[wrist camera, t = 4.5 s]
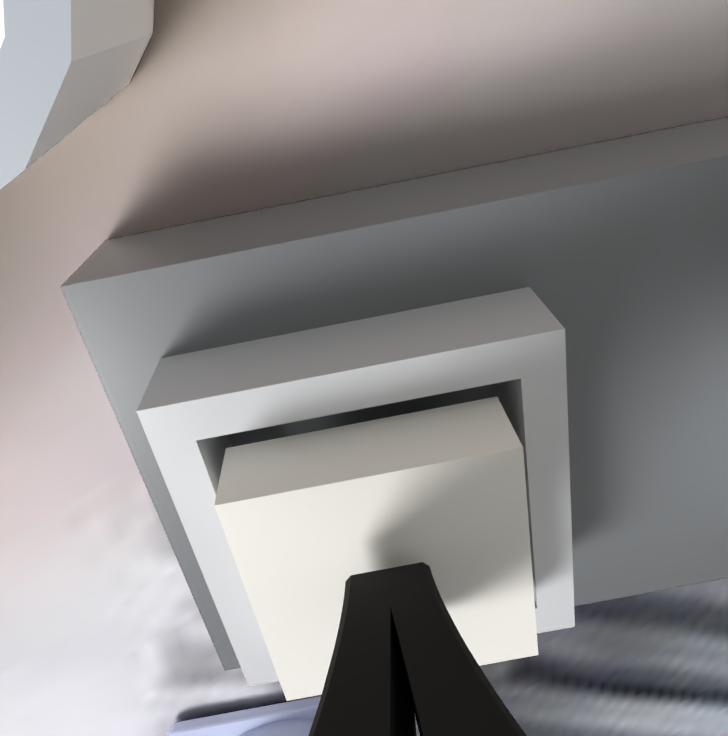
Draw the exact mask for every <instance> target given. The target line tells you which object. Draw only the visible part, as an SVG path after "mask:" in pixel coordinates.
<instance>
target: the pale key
mask: <svg viewBox="0 0 728 736" xmlns="http://www.w3.org/2000/svg"><path fill="white" fill-rule="evenodd" d="M214 507H215V509H216V512H217V515H218V517H219V520H220V523H221V525H222V528H223V531H224V534H225V536H226V539H227V542H228V544H229V547H230V550H231V552H232V555H233V558H234V560H235V563H236V566H237V569H238V571H239V574H240V577H241V579H242V582H243V585H244V587H245V590H246V593H247V595H248V598H249V601H250V604H251V606H252V609H253V612H254V614H255V617H256V620H257V622H258V625H259V628H260V630H261V633H262V636H263V639H264V641H265V644H266V647H267V649H268V652H269V655H270V657H271V660H272V663H273V665H274V668H275V671H276V674H277V676H278V679H279V682H280V684H281V687H282V690H283V692H284V695H285V698H286V700H287V701H289V700H295V699H300V698H306V697H311V696H317V695H322V692H323V688H324V684H325V680H326V677H327V673H328V669H329V666H330V662H331V658H332V655H333V651H334V646H335V642H336V637H337V633H338V629H339V624H340V618H341V613H342V607H343V600H344V592H345V581H346V580H347V579H348V578H349V577H350V576H351V575H355V574H361V573H366V572H372V571H377V570H382V569H388V568H393V567H398V566H404V565H409V564H415V563H420V562H423V563H425V564H427V565H429V566H430V569H431V573H432V576H433V578H434V581H435V584H436V586H437V589H438V591H439V593H440V596H441V598H442V600H443V602H444V604H445V606H446V608H447V610H448V612H449V614H450V616H451V618H452V620H453V622H454V624H455V626H456V628H457V629H458V631H459V633H460V635H461V637H462V638H463V640H464V642H465V644H466V645H467V647H468V648H469V650H470V652H471V653H472V655H473V657H474V658H475V660H476V662H477V663H478V665H479V666H481V665H486V664H492V663H497V662H503V661H508V660H514V659H519V658H525V657H530V656H535V655H538V642H537V628H536V615H535V601H534V588H533V574H532V561H531V548H530V534H529V521H528V507H527V494H526V480H525V467H524V454H523V446H522V444H521V442H520V440H519V438H518V436H517V434H516V432H515V430H514V428H513V426H512V424H511V422H510V421H509V419H508V417H507V415H506V413H505V411H504V409H503V407H502V405H501V403H500V401H499V399H498V397H492V398H486V399H481V400H476V401H471V402H465V403H460V404H455V405H450V406H444V407H439V408H434V409H429V410H423V411H418V412H413V413H408V414H402V415H397V416H392V417H387V418H382V419H376V420H371V421H366V422H361V423H355V424H350V425H345V426H340V427H334V428H329V429H324V430H319V431H313V432H308V433H303V434H298V435H292V436H287V437H282V438H277V439H271V440H266V441H261V442H256V443H250V444H245V445H240V446H235V447H230V448H226V450H225V455H224V460H223V465H222V470H221V474H220V479H219V484H218V489H217V494H216V499H215V504H214Z"/></svg>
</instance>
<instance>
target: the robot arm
mask: <svg viewBox="0 0 728 736" xmlns="http://www.w3.org/2000/svg"><path fill="white" fill-rule="evenodd" d="M415 716H416V720H417V725H418V729H419V733H420V736H526V734H525V733H524V732H523V730H522V729H521V727H520V726H519V725H518V723H517V722H516V720H515V719H514V718H513V716H512V715H511V713H510V712H509V710H508V709H507V708H506V706H505V705H504V703H503V702H502V700H501V699H500V698H499V696H498V695H497V693H496V692H495V690H494V688H493V687H492V685H491V684H490V682H489V681H488V679H487V678H486V676H485V675H484V673H483V671H482V670H481V668H480V666H479V665H478V663H477V662H476V660H475V658H474V657H473V655H472V653H471V652H470V650H469V648H468V647H467V645H466V644H465V642H464V640H463V638H462V637H461V635H460V633H459V631H458V629H457V628H456V626H455V624H454V622H453V620H452V618H451V616H450V614H449V612H448V610H447V608H446V606H445V604H444V602H443V600H442V598H441V596H440V593H439V591H438V589H437V586H436V584H435V581H434V578H433V576H432V573H431V569H430V566H429V565H427V564H425V563H423V562H420V563H415V564H409V565H404V566H398V567H393V568H388V569H382V570H377V571H372V572H366V573H361V574H355V575H351V576H350V577H349V578H348V579H347V580H346V581H345V592H344V600H343V607H342V613H341V618H340V624H339V629H338V633H337V637H336V642H335V646H334V651H333V655H332V658H331V662H330V666H329V669H328V673H327V677H326V680H325V684H324V688H323V692H322V695H321V696H317V697H312V698H306V699H301V700H295V701H290V702H284V703H279V704H273V705H268V706H262V707H257V708H251V709H246V710H240V711H235V712H230V713H224V714H219V715H213V716H208V717H202V718H197V719H191V720H186V721H180V722H177V723H174V724H173V725H172V726H170V728H169V731H168V736H416V726H415Z"/></svg>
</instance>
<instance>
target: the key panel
mask: <svg viewBox="0 0 728 736" xmlns="http://www.w3.org/2000/svg"><path fill="white" fill-rule="evenodd" d="M61 289H62V292H63V294H64V296H65V299H66V301H67V303H68V306H69V308H70V310H71V313H72V315H73V317H74V320H75V322H76V324H77V327H78V329H79V331H80V334H81V336H82V338H83V341H84V343H85V345H86V348H87V350H88V352H89V355H90V357H91V359H92V362H93V364H94V366H95V369H96V371H97V373H98V376H99V378H100V380H101V383H102V385H103V387H104V390H105V392H106V394H107V397H108V399H109V401H110V404H111V406H112V408H113V411H114V413H115V415H116V418H117V420H118V422H119V425H120V427H121V429H122V432H123V434H124V436H125V439H126V441H127V443H128V446H129V448H130V450H131V453H132V455H133V457H134V460H135V462H136V464H137V467H138V469H139V471H140V474H141V476H142V478H143V481H144V483H145V485H146V488H147V490H148V492H149V495H150V497H151V499H152V502H153V504H154V506H155V509H156V511H157V513H158V516H159V518H160V520H161V523H162V525H163V527H164V530H165V532H166V534H167V537H168V539H169V541H170V544H171V546H172V548H173V551H174V553H175V555H176V558H177V560H178V562H179V565H180V567H181V569H182V572H183V574H184V576H185V579H186V581H187V584H188V586H189V588H190V591H191V593H192V595H193V598H194V600H195V602H196V605H197V607H198V609H199V612H200V614H201V616H202V619H203V621H204V623H205V626H206V628H207V630H208V633H209V635H210V637H211V640H212V642H213V644H214V647H215V649H216V651H217V654H218V656H219V658H220V661H221V663H222V665H223V668H224V670H231V669H236V668H241V669H242V671H243V674H244V676H245V679H246V681H247V683H248V686H255V685H260V684H266V683H271V682H276V681H279V679H278V676H277V674H276V671H275V668H274V665H273V663H272V660H271V657H270V655H269V652H268V649H267V647H266V644H265V641H264V639H263V636H262V633H261V630H260V628H259V625H258V622H257V620H256V617H255V614H254V612H253V609H252V606H251V604H250V601H249V598H248V595H247V593H246V590H245V587H244V585H243V582H242V579H241V577H240V574H239V571H238V569H237V566H236V563H235V560H234V558H233V555H232V552H231V550H230V547H229V544H228V542H227V539H226V536H225V534H224V531H223V528H222V525H221V523H220V520H219V517H218V515H217V512H216V509H215V507H214V504H215V499H216V494H217V489H218V484H219V479H220V474H221V470H222V465H223V460H224V455H225V450H226V448H230V447H235V446H240V445H245V444H250V443H256V442H261V441H266V440H271V439H277V438H282V437H287V436H292V435H298V434H303V433H308V432H313V431H319V430H324V429H329V428H334V427H340V426H345V425H350V424H355V423H361V422H366V421H371V420H376V419H382V418H387V417H392V416H397V415H402V414H408V413H413V412H418V411H423V410H429V409H434V408H439V407H444V406H450V405H455V404H460V403H465V402H471V401H476V400H481V399H486V398H492V397H498V399H499V401H500V403H501V405H502V407H503V409H504V411H505V413H506V415H507V417H508V419H509V421H510V422H511V424H512V426H513V428H514V430H515V432H516V434H517V436H518V438H519V440H520V442H521V444H522V446H523V454H524V467H525V480H526V494H527V507H528V521H529V534H530V548H531V561H532V574H533V588H534V601H535V615H536V628H537V634H538V633H543V632H549V631H554V630H560V629H565V628H571V627H575V615H574V606H578V605H584V604H589V603H595V602H600V601H606V600H611V599H616V598H622V597H627V596H633V595H638V594H644V593H649V592H654V591H660V590H665V589H671V588H676V587H682V586H687V585H692V584H698V583H703V582H709V581H714V580H720V579H725V578H728V117H725V118H720V119H715V120H710V121H705V122H700V123H695V124H690V125H685V126H680V127H675V128H670V129H664V130H659V131H654V132H649V133H644V134H639V135H634V136H629V137H624V138H619V139H614V140H609V141H604V142H599V143H594V144H589V145H584V146H579V147H573V148H568V149H563V150H558V151H553V152H548V153H543V154H538V155H533V156H528V157H523V158H518V159H513V160H508V161H503V162H498V163H493V164H487V165H482V166H477V167H472V168H467V169H462V170H457V171H452V172H447V173H442V174H437V175H432V176H427V177H422V178H417V179H412V180H407V181H402V182H396V183H391V184H386V185H381V186H376V187H371V188H366V189H361V190H356V191H351V192H346V193H341V194H336V195H331V196H326V197H321V198H316V199H311V200H305V201H300V202H295V203H290V204H285V205H280V206H275V207H270V208H265V209H260V210H255V211H250V212H245V213H240V214H235V215H230V216H225V217H220V218H214V219H209V220H204V221H199V222H194V223H189V224H184V225H179V226H174V227H169V228H164V229H159V230H154V231H149V232H144V233H139V234H134V235H128V236H123V237H118V238H113V239H108V240H105V241H104V242H103V243H102V244H101V246H100V247H99V248H98V249H97V250H96V251H95V252H94V253H93V254H92V255H91V256H90V257H89V258H88V259H87V260H86V261H85V262H84V263H83V264H82V265H81V266H80V267H79V268H78V269H77V270H76V271H75V272H74V273H73V274H72V275H71V276H70V277H69V278H68V279H67V281H66V282H65V283H64V284H63V285H62V286H61Z"/></svg>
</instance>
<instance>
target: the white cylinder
mask: <svg viewBox="0 0 728 736" xmlns="http://www.w3.org/2000/svg"><path fill="white" fill-rule="evenodd" d="M153 22H154V0H0V189H2V188H3V187H4V186H5V185H7V184H8V183H9V182H10V181H12V180H13V179H14V178H15V177H17V176H18V175H19V174H20V173H21V172H23V171H24V170H25V169H26V168H28V167H29V166H30V165H31V164H32V163H34V162H35V161H36V160H37V159H38V158H40V157H41V156H42V155H43V154H45V153H46V152H47V151H48V150H49V149H51V148H52V147H53V146H54V145H55V144H57V143H58V142H59V141H60V140H61V139H63V138H64V137H65V136H66V135H68V134H69V133H70V132H71V131H72V130H74V129H75V128H76V127H77V126H78V125H80V124H81V123H82V122H83V121H84V120H86V119H87V118H88V117H89V116H90V115H92V114H93V113H94V112H95V111H97V110H98V109H99V108H100V107H101V106H103V105H104V104H105V103H106V102H107V101H109V100H110V99H111V98H112V97H113V96H115V95H116V94H117V93H118V92H119V91H121V90H122V89H123V88H124V87H126V86H127V85H128V84H129V83H130V81H131V79H132V77H133V74H134V72H135V70H136V68H137V66H138V64H139V62H140V60H141V57H142V55H143V53H144V51H145V49H146V47H147V45H148V43H149V40H150V38H151V36H152V34H153Z"/></svg>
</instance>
